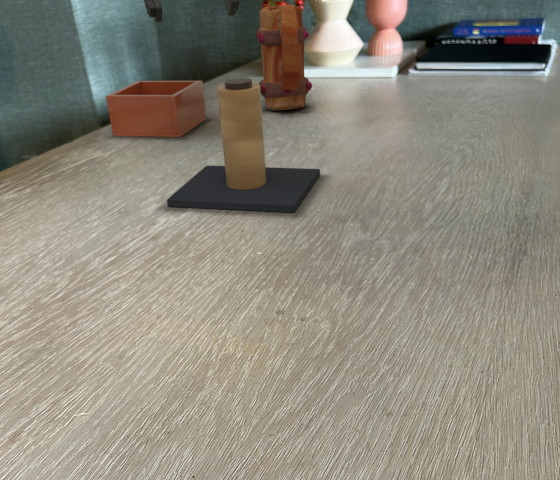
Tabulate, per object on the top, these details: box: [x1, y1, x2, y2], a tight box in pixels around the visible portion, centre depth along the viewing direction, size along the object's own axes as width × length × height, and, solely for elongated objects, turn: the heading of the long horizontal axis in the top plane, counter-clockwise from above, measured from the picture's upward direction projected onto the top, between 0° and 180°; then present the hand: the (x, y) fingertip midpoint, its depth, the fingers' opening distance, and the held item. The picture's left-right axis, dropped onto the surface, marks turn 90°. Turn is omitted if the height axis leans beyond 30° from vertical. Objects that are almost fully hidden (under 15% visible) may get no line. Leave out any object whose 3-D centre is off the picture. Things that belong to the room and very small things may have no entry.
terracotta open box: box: [105, 80, 207, 138], centre depth 99 cm, size 11×11×6 cm
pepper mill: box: [216, 77, 266, 190], centre depth 71 cm, size 4×4×11 cm
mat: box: [166, 165, 321, 214], centre depth 74 cm, size 14×12×1 cm
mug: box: [255, 4, 313, 111], centre depth 100 cm, size 15×8×15 cm, turn 6°
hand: (196, 13), depth 75 cm, fingers open, 8 cm apart
